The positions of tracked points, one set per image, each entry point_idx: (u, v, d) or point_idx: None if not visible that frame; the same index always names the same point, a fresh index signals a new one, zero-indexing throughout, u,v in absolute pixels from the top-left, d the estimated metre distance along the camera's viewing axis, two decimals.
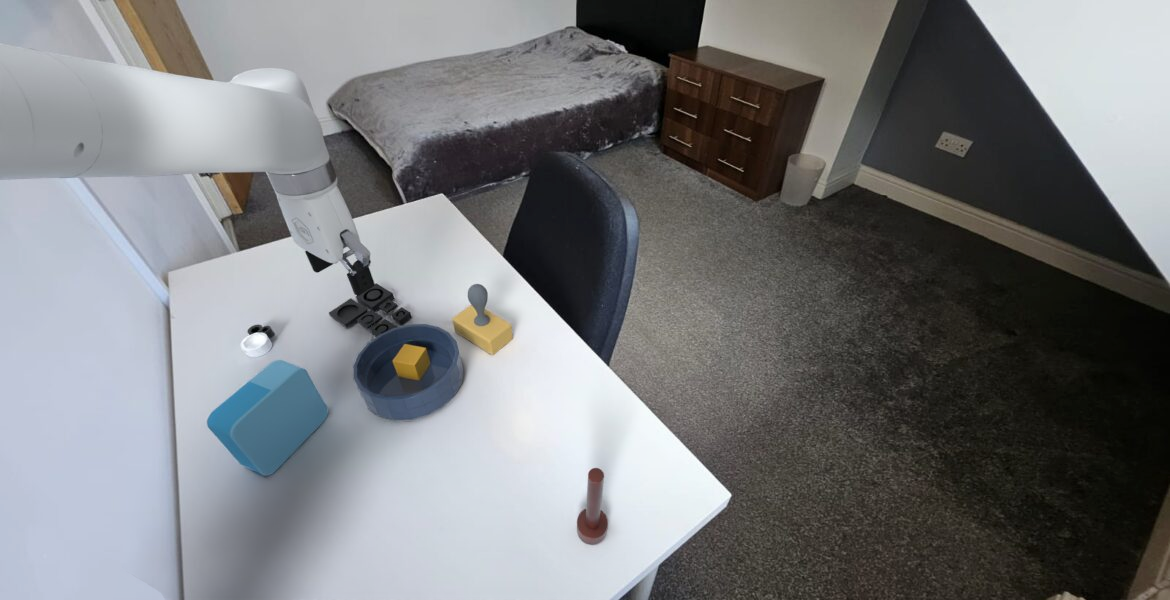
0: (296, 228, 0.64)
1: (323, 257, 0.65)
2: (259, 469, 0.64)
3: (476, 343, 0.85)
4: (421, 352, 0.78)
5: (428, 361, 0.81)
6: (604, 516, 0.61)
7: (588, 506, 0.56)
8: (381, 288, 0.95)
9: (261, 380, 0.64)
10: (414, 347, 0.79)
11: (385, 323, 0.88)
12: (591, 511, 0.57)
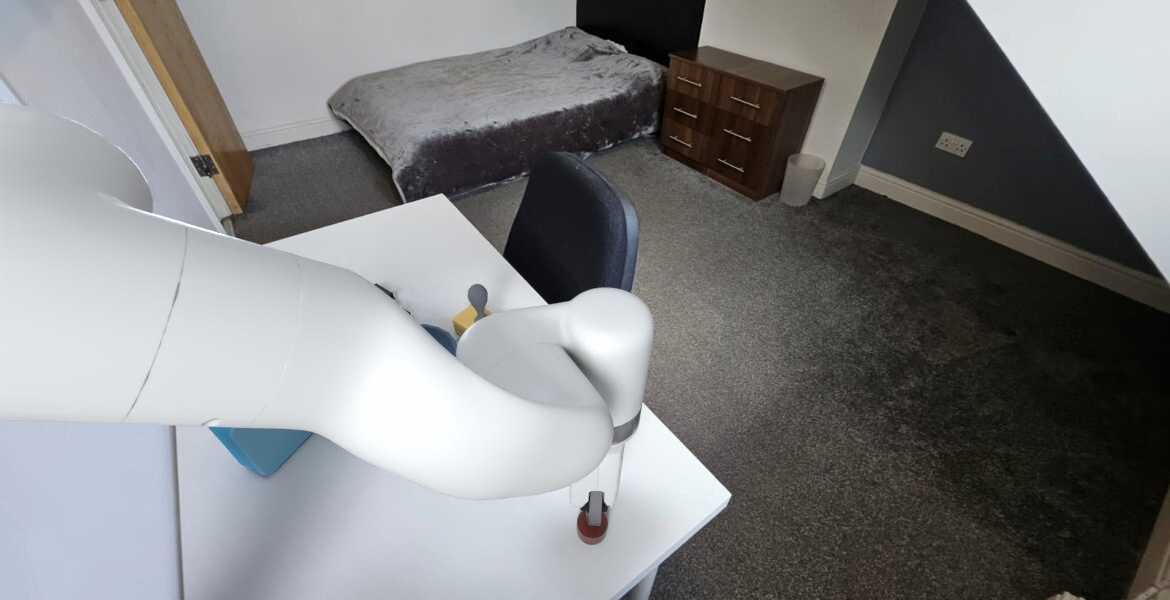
0: None
1: None
2: (259, 469, 0.64)
3: None
4: None
5: None
6: (604, 516, 0.61)
7: None
8: (381, 288, 0.95)
9: None
10: None
11: None
12: None
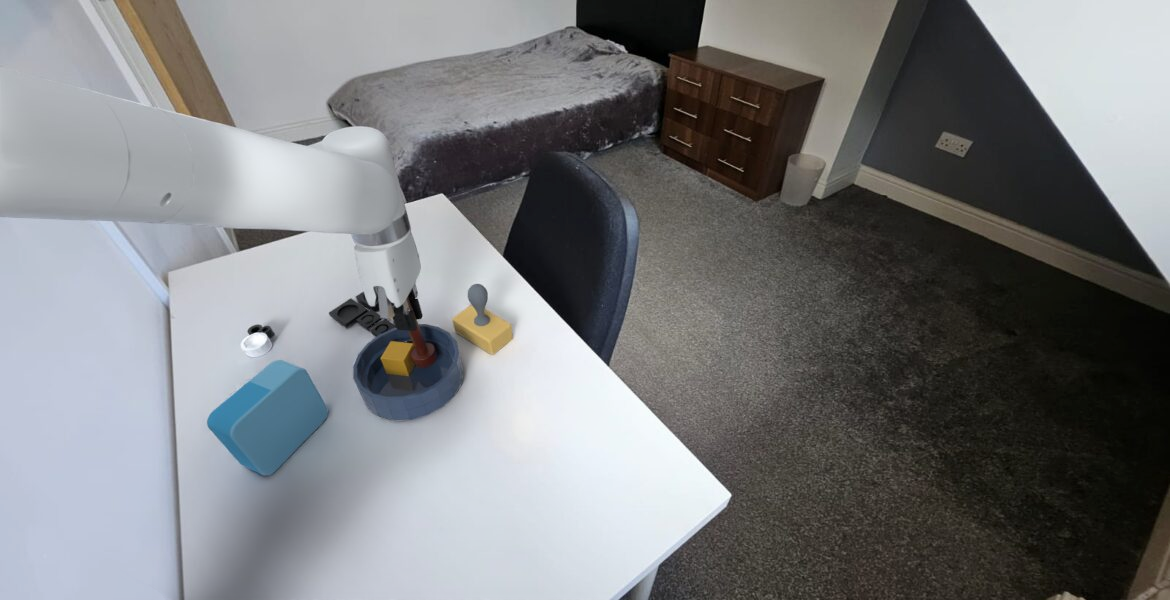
0: None
1: None
2: (259, 469, 0.64)
3: (476, 343, 0.85)
4: (409, 348, 0.79)
5: None
6: (432, 347, 0.79)
7: None
8: None
9: (261, 380, 0.64)
10: (401, 343, 0.80)
11: (385, 323, 0.88)
12: (410, 333, 0.75)
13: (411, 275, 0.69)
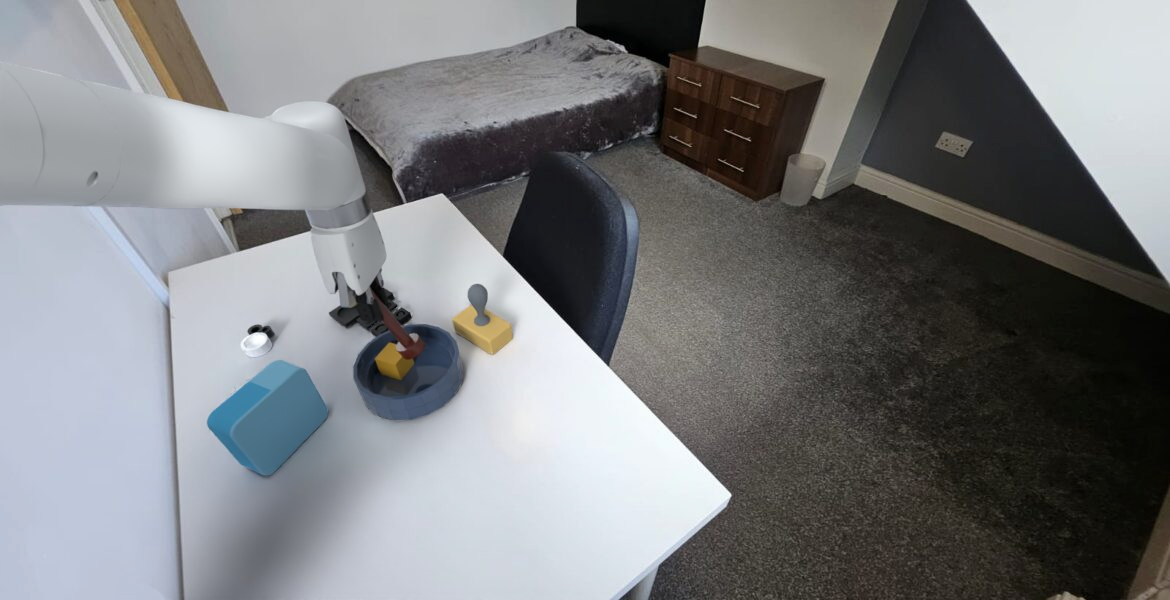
0: None
1: None
2: (259, 469, 0.64)
3: (476, 343, 0.85)
4: None
5: (412, 361, 0.81)
6: (417, 337, 0.75)
7: None
8: None
9: (261, 380, 0.64)
10: None
11: None
12: (385, 324, 0.72)
13: (374, 262, 0.65)
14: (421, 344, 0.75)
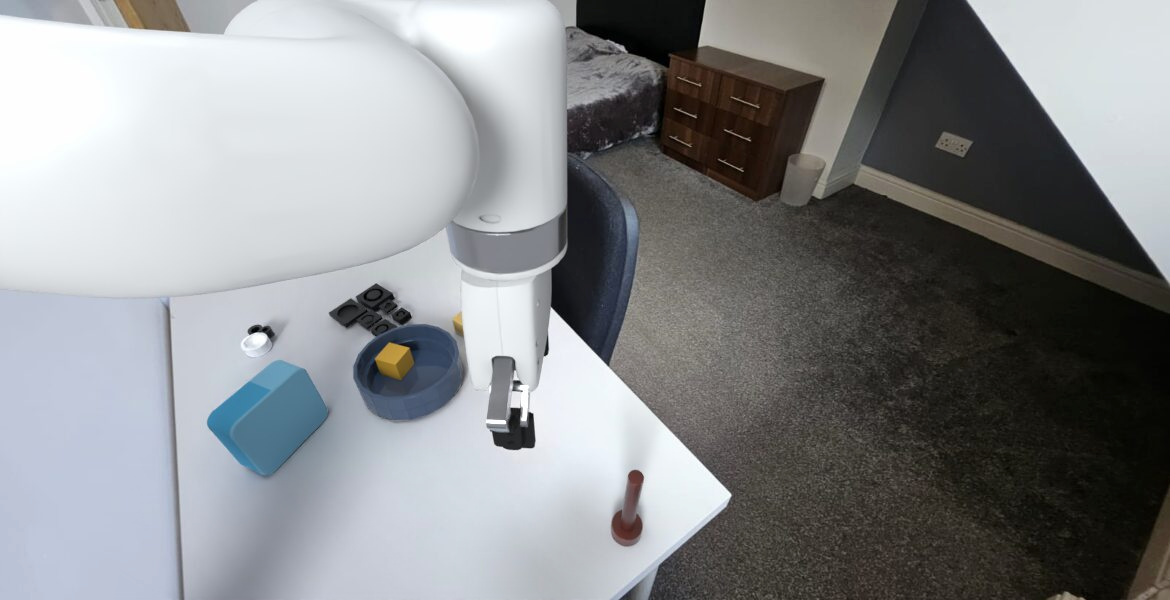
0: None
1: None
2: (259, 469, 0.64)
3: None
4: (404, 352, 0.78)
5: (412, 361, 0.81)
6: (639, 520, 0.61)
7: (625, 507, 0.56)
8: (381, 288, 0.95)
9: (261, 380, 0.64)
10: (398, 346, 0.79)
11: (385, 323, 0.88)
12: (627, 512, 0.57)
13: None
14: None
